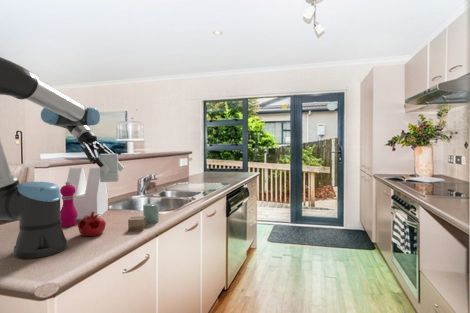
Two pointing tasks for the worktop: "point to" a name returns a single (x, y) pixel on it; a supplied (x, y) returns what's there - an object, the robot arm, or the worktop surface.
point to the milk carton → (88, 192)
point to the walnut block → (137, 223)
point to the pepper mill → (68, 206)
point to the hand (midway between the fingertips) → (115, 170)
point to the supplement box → (112, 163)
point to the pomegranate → (91, 225)
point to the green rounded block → (151, 212)
